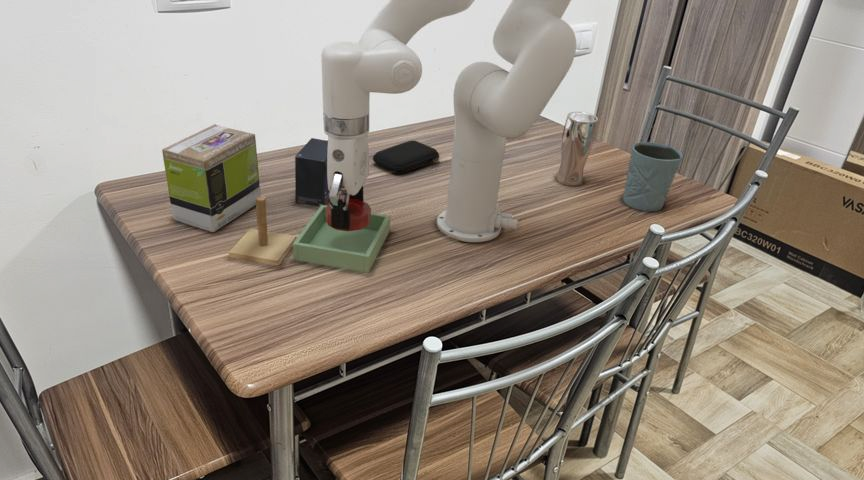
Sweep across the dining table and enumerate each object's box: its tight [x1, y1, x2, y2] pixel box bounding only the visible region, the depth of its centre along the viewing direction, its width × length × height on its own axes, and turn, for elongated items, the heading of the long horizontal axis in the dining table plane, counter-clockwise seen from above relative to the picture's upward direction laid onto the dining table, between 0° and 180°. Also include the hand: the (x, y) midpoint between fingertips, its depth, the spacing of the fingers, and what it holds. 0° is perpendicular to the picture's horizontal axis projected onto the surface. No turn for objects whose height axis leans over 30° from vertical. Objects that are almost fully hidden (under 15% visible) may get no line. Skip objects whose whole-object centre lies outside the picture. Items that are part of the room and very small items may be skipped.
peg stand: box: [228, 195, 297, 267], centre depth 119 cm, size 9×9×10 cm
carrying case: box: [372, 140, 440, 175], centre depth 157 cm, size 11×3×15 cm
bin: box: [292, 205, 391, 274], centre depth 124 cm, size 14×16×4 cm
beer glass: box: [555, 111, 599, 187], centre depth 152 cm, size 7×7×15 cm
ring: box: [325, 198, 372, 231], centre depth 122 cm, size 8×8×2 cm
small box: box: [294, 137, 330, 208], centre depth 139 cm, size 11×6×10 cm, turn 168°
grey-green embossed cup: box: [622, 141, 683, 212], centre depth 145 cm, size 10×10×12 cm
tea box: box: [161, 123, 262, 233], centre depth 129 cm, size 15×10×15 cm, turn 154°
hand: (347, 216), depth 122 cm, fingers closed on ring, 8 cm apart
